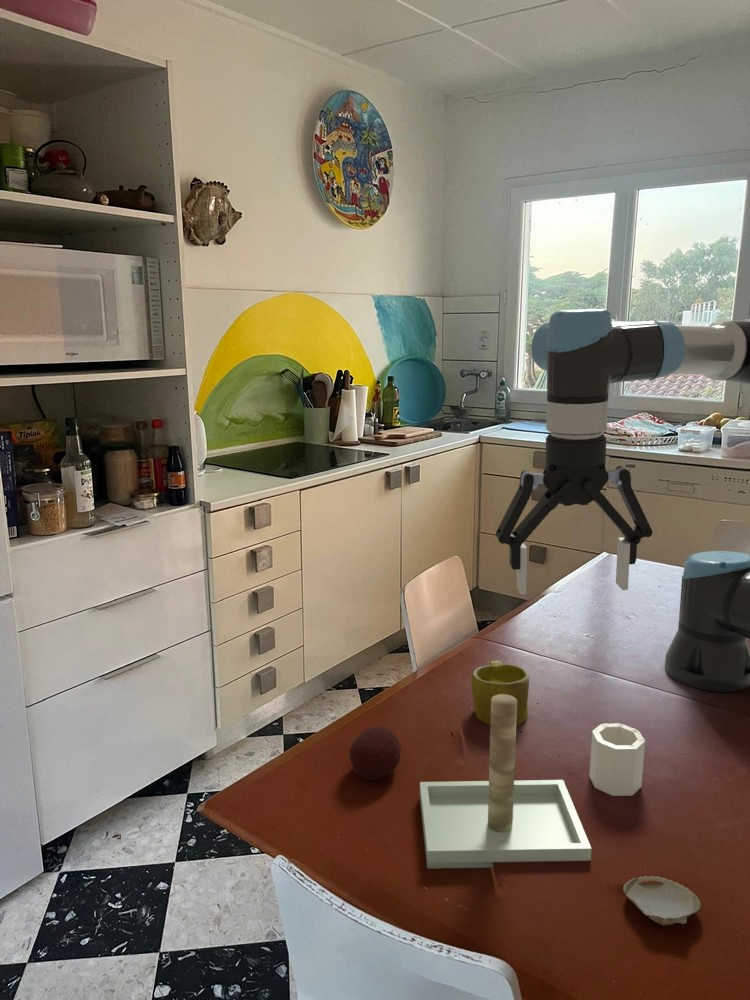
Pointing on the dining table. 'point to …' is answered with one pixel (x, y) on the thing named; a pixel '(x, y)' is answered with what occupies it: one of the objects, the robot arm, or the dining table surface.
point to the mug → (499, 689)
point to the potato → (375, 753)
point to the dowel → (502, 762)
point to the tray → (473, 844)
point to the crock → (617, 759)
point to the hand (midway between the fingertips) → (571, 589)
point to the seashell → (662, 900)
